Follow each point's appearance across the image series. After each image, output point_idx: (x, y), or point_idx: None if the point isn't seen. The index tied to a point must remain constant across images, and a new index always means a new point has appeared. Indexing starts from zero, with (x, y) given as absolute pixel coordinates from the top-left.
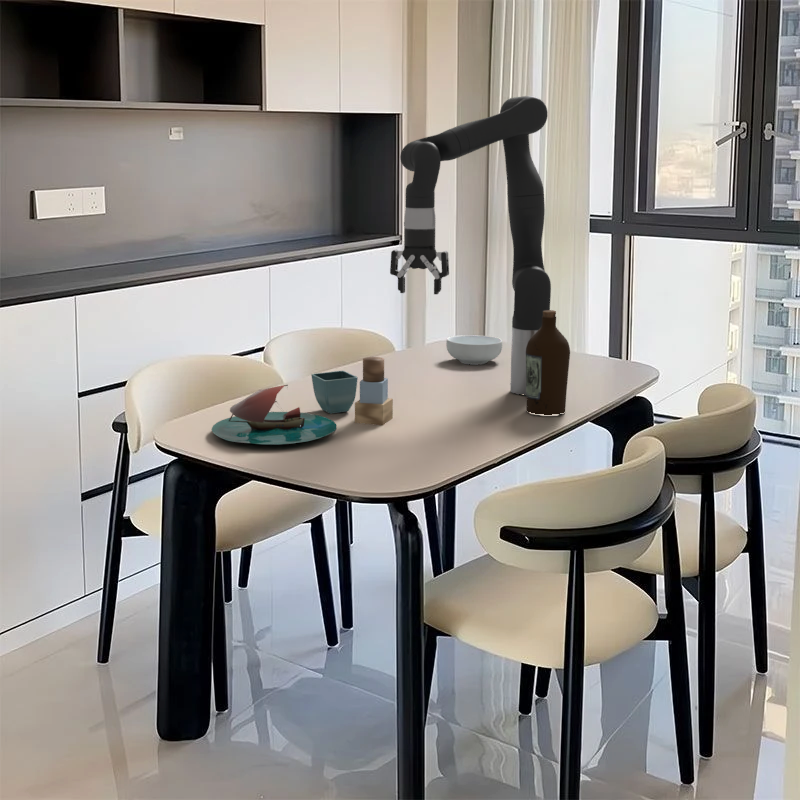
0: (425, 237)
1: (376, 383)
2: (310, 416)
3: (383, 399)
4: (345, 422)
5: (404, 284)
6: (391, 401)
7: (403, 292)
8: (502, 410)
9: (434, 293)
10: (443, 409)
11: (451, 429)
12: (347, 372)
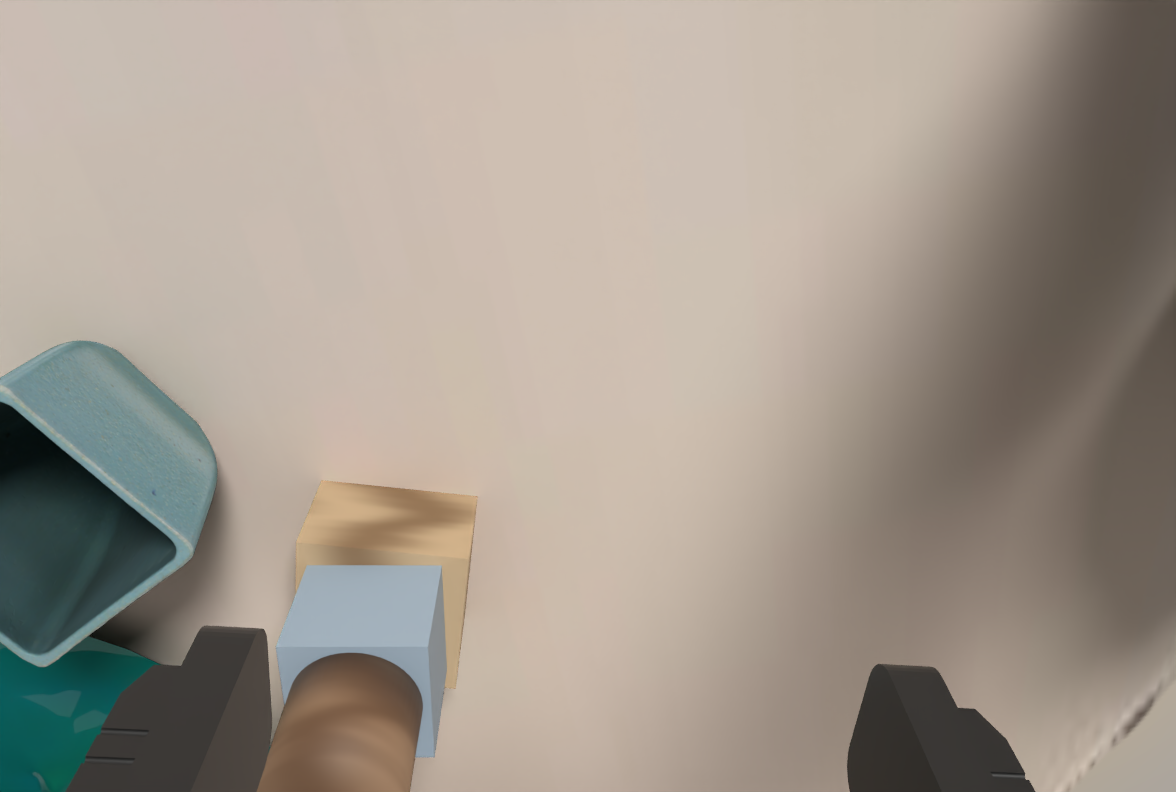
0: None
1: None
2: (99, 665)
3: (444, 668)
4: (271, 607)
5: (221, 782)
6: (468, 568)
7: (267, 712)
8: (1082, 215)
9: (857, 782)
10: (725, 262)
11: (793, 621)
12: (57, 434)
